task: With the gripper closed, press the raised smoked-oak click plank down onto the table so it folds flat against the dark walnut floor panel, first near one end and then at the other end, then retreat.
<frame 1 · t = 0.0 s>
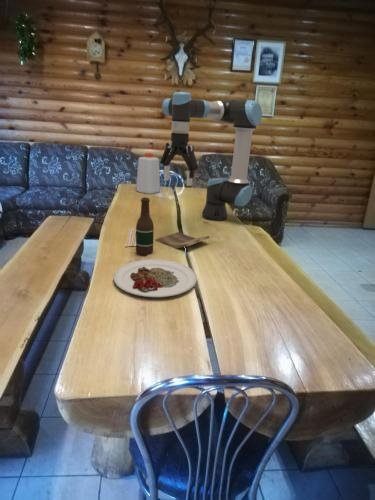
hand: (177, 182, 152), 28 cm above the table, fingers open, 13 cm apart
plated food: (155, 280, 126), on the table
plank: (192, 242, 157), point 2 cm above the table, hinge at 25.0°
beer bottle: (144, 253, 148), on the table
newspaper: (134, 240, 164), on the table
floor panel: (175, 241, 164), on the table
white thread spool: (148, 192, 259), on the table
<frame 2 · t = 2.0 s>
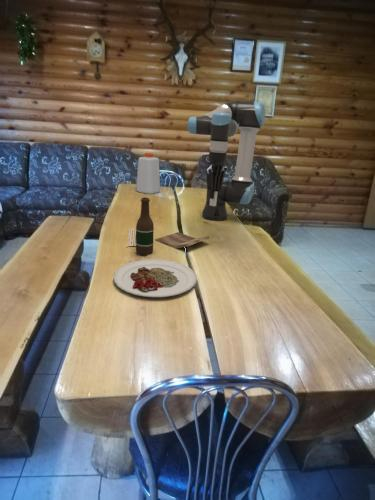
hand: (212, 205, 155), 19 cm above the table, fingers closed
plank: (192, 242, 157), point 2 cm above the table, hinge at 24.4°
everything else where it was.
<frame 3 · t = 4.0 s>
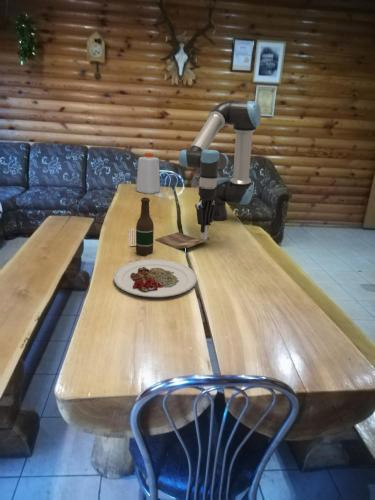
hand: (203, 238, 157), 4 cm above the table, fingers closed
plank: (192, 242, 157), point 2 cm above the table, hinge at 20.7°, touching gripper
everything else where it was.
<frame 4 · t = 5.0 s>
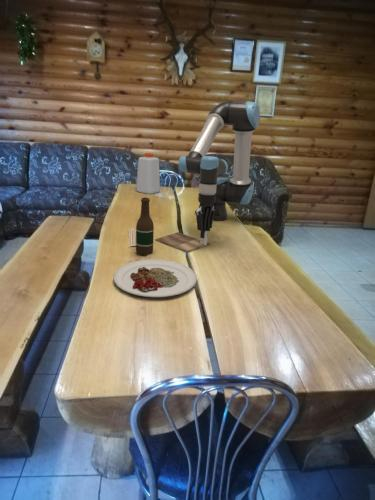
hand: (203, 244, 158), 2 cm above the table, fingers closed
plank: (192, 245, 157), point 1 cm above the table, hinge at 2.3°, touching gripper
everything else where it was.
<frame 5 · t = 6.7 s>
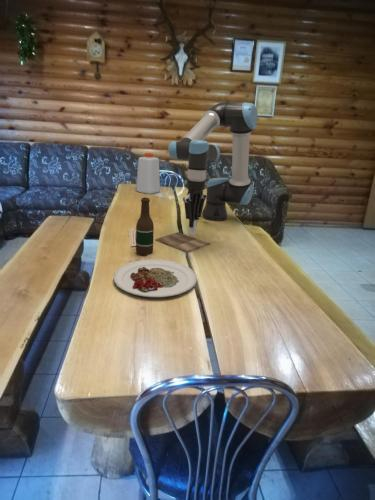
hand: (192, 233, 150), 8 cm above the table, fingers closed
plank: (192, 245, 157), point 1 cm above the table, hinge at 2.2°
everything else where it was.
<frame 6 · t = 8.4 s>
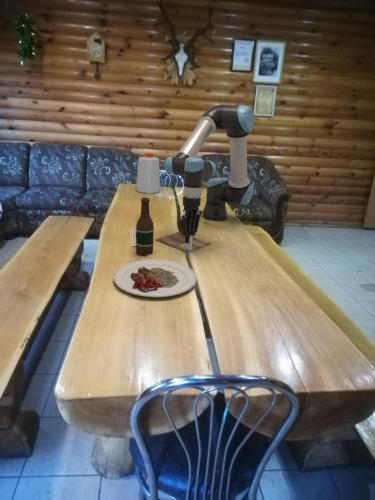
hand: (188, 249, 151), 1 cm above the table, fingers closed
plank: (192, 245, 157), point 1 cm above the table, hinge at 1.6°, touching gripper
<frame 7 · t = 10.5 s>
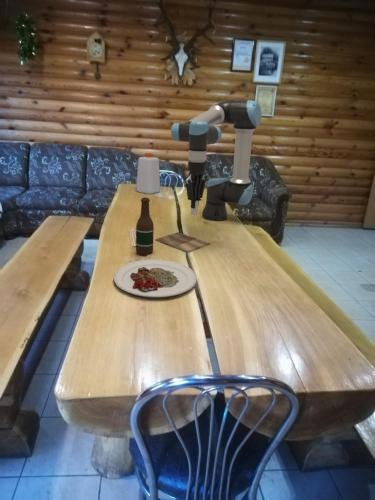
hand: (194, 214, 154), 15 cm above the table, fingers closed
plank: (192, 245, 157), point 1 cm above the table, hinge at 1.2°
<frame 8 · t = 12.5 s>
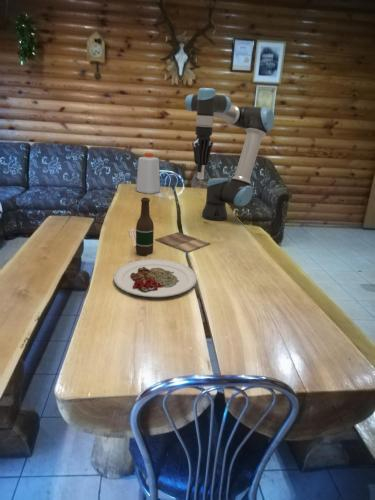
hand: (200, 178, 163), 28 cm above the table, fingers closed
at the end: plank at +1° (first picture: +25°); plank touching nothing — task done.
